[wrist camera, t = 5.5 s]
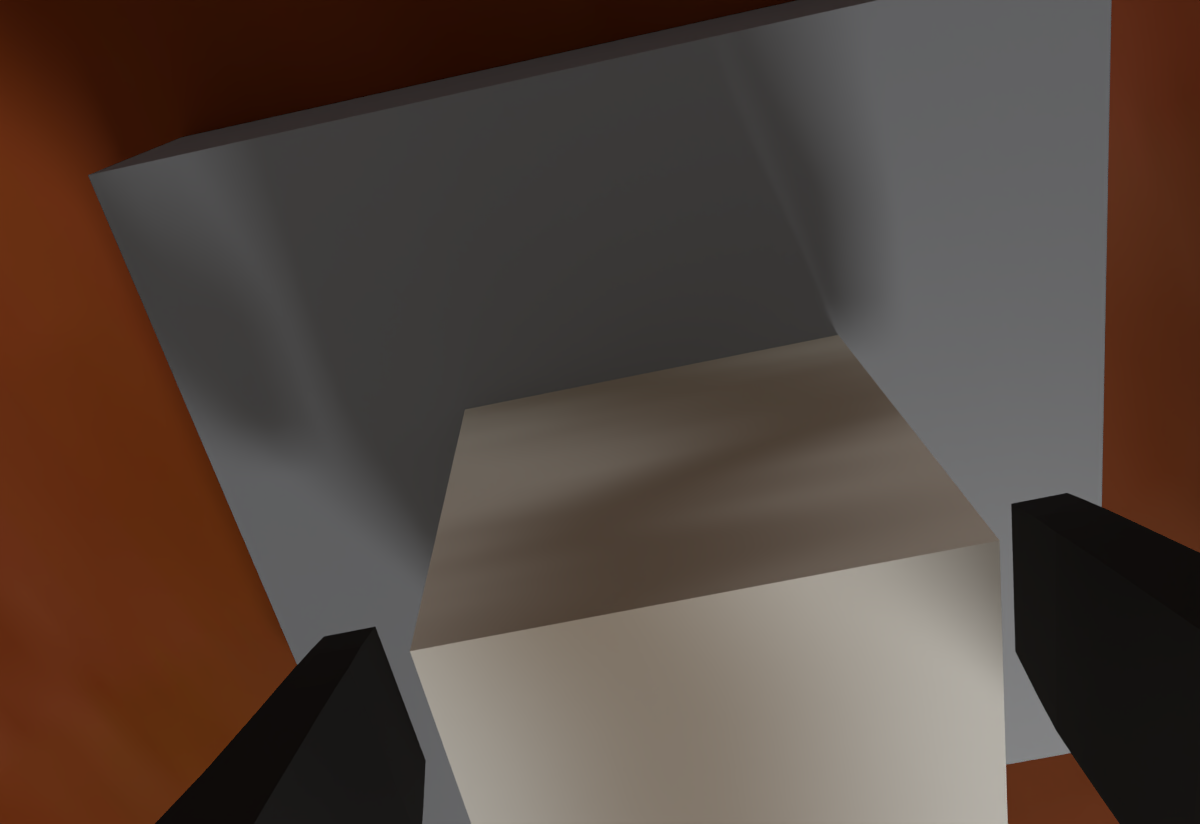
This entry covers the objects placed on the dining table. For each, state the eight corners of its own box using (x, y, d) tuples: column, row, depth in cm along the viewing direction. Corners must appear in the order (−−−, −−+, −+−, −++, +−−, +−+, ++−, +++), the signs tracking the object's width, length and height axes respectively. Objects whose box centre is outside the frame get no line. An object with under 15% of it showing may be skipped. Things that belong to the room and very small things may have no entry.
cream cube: (837, 335, 12) (999, 539, 8) (869, 638, 14) (1011, 942, 10) (464, 409, 13) (409, 651, 8) (547, 697, 15) (541, 1019, 10)
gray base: (998, -45, 13) (1112, -52, 11) (1016, 633, 18) (1096, 748, 15) (181, 137, 14) (87, 175, 11) (412, 746, 19) (387, 875, 16)
